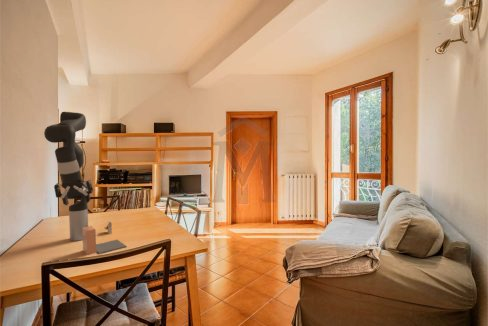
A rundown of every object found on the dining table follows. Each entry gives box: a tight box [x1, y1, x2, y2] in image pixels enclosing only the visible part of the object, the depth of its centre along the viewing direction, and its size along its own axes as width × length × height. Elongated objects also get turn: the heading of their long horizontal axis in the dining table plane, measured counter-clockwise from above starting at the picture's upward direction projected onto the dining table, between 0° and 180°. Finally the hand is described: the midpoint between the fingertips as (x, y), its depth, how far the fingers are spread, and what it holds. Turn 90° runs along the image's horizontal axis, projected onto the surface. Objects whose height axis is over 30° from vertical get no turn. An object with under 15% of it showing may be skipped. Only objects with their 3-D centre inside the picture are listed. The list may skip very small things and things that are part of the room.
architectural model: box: [103, 220, 113, 235], centre depth 156 cm, size 3×7×7 cm, turn 37°
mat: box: [96, 239, 127, 255], centre depth 132 cm, size 15×13×1 cm
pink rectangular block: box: [82, 225, 97, 256], centre depth 125 cm, size 8×4×12 cm, turn 45°
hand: (77, 203), depth 114 cm, fingers open, 8 cm apart
